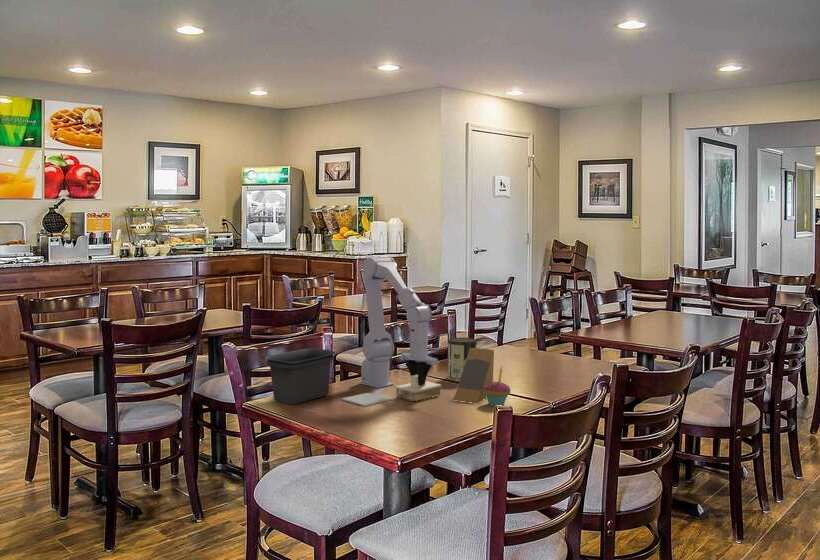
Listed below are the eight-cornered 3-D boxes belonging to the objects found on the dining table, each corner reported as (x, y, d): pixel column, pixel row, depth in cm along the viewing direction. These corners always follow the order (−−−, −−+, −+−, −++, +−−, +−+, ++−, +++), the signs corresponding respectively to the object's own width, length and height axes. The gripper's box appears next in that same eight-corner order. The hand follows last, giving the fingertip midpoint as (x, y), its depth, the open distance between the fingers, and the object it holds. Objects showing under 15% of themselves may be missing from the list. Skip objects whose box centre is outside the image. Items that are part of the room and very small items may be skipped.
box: (396, 397, 238) (396, 388, 238) (422, 391, 247) (422, 382, 247) (414, 401, 233) (414, 392, 233) (440, 395, 241) (440, 386, 241)
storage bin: (290, 408, 224) (290, 361, 222) (256, 400, 233) (256, 355, 232) (339, 395, 240) (339, 352, 239) (306, 388, 250) (306, 346, 249)
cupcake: (494, 399, 236) (495, 362, 235) (516, 405, 230) (516, 366, 229) (477, 404, 230) (477, 366, 229) (498, 409, 224) (499, 370, 223)
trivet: (341, 400, 234) (341, 398, 234) (367, 394, 242) (367, 392, 242) (364, 406, 227) (364, 404, 227) (390, 400, 235) (390, 398, 235)
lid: (395, 390, 238) (395, 375, 238) (422, 384, 247) (422, 370, 247) (414, 395, 232) (414, 380, 232) (441, 388, 241) (441, 374, 241)
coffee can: (474, 375, 273) (475, 337, 272) (477, 381, 262) (477, 342, 261) (446, 375, 273) (447, 337, 272) (447, 381, 263) (448, 341, 261)
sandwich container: (451, 401, 234) (452, 354, 233) (468, 391, 248) (469, 347, 247) (477, 404, 231) (478, 357, 230) (493, 394, 245) (494, 349, 243)
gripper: (394, 341, 241) (393, 382, 242) (426, 347, 231) (426, 390, 232) (409, 338, 246) (409, 379, 247) (442, 344, 236) (441, 386, 237)
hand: (418, 384), depth 240 cm, fingers closed on lid, 2 cm apart
